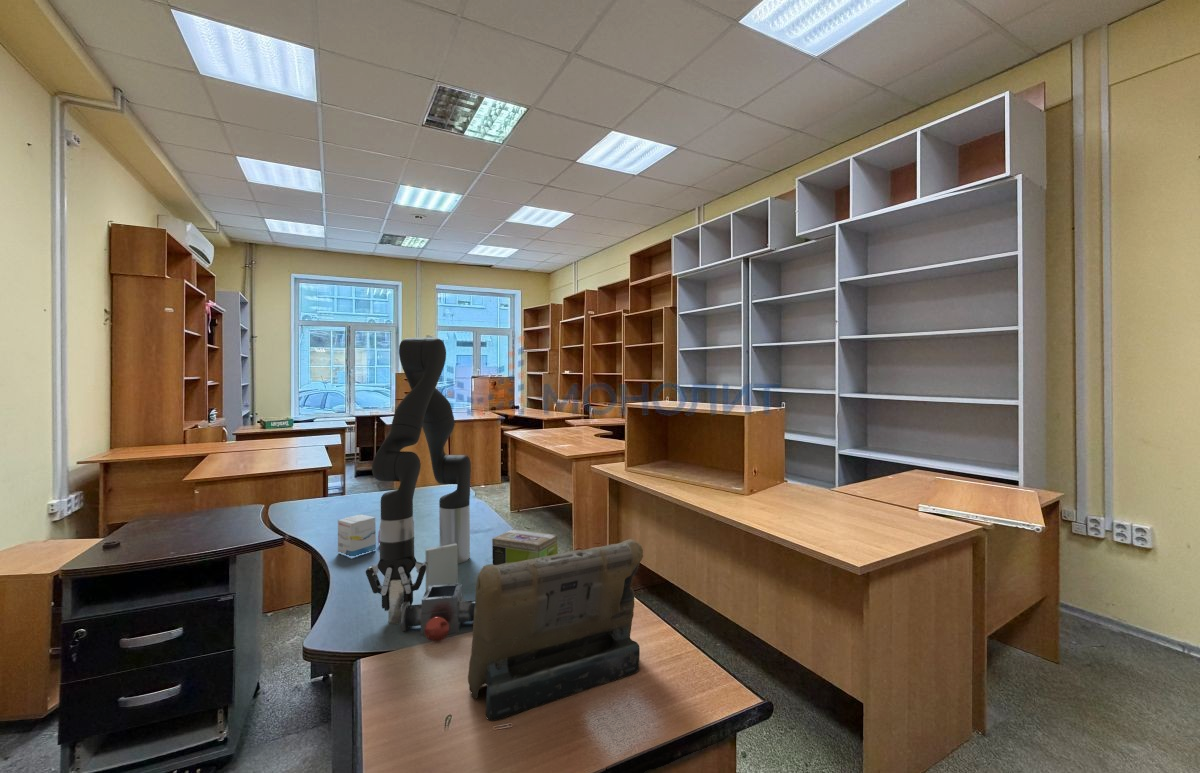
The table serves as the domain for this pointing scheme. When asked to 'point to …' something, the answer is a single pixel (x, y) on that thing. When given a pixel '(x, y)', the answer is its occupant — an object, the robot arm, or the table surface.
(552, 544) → the tea box
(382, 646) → the table surface
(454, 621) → the valve body
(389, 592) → the pipe stub
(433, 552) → the external hard drive
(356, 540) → the ink box
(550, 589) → the tablet
